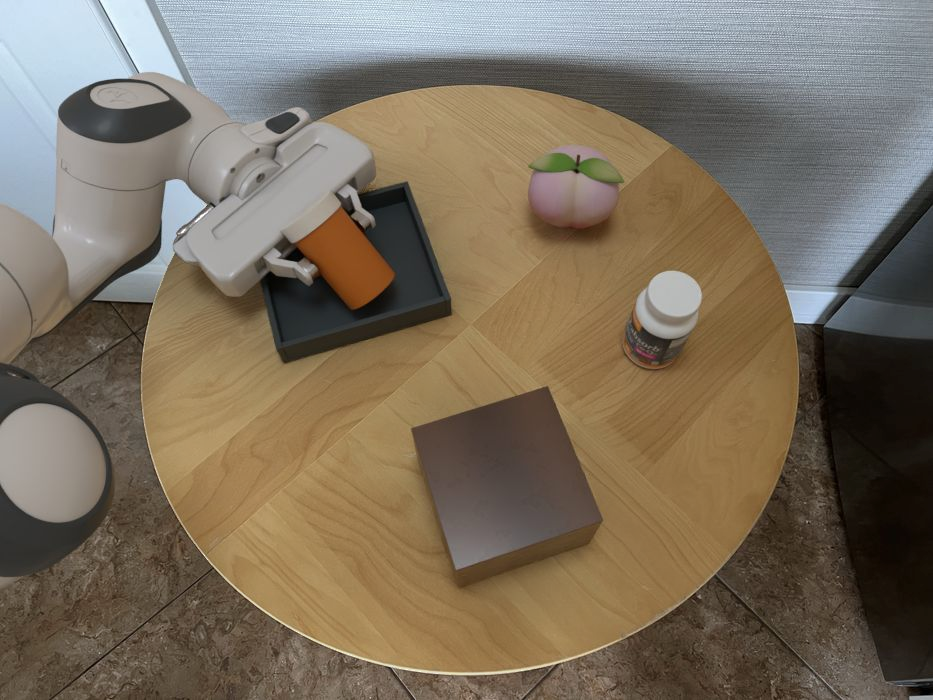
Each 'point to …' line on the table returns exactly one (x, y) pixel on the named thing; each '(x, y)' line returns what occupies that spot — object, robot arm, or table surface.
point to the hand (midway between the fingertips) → (342, 251)
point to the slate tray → (397, 307)
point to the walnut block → (505, 486)
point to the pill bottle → (662, 320)
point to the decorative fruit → (573, 187)
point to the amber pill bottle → (339, 250)
